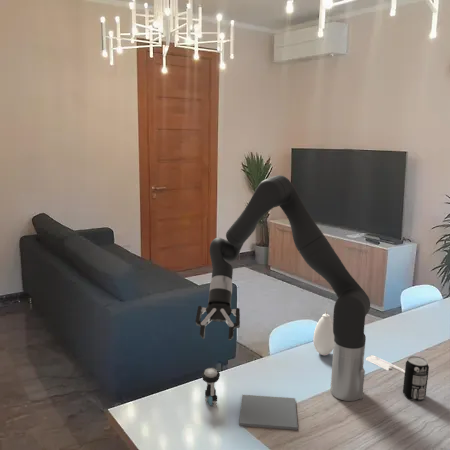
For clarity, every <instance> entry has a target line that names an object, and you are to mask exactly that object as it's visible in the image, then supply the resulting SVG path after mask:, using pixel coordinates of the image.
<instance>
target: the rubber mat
mask: <svg viewBox="0 0 450 450" xmlns="http://www.w3.org/2000/svg"><path fill="white" fill-rule="evenodd" d="M296 405H297V404H296V398H295V397H283V396H281V397H280V396H266V395H253V394H252V395H250V394H242V395H241V402H240V410H239V411H240V413H239V414H240V415H239V422H238V423H239V424H238V426H241V427H254V428H267V429H280V430H291V431H292V430H295V431H298V429H299V426H298V416H297V406H296Z"/></svg>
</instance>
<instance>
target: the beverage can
mask: <svg viewBox="0 0 450 450" xmlns="http://www.w3.org/2000/svg"><path fill="white" fill-rule="evenodd" d="M404 368H405V369H404V370H405V374H404V378H403V386H402V393H403V395H404V397H406V399H409V400H410V401H414V402H415V401H416V402H420V401H423V400H425V398H426V396H427V389H428V388H427V387H428V379H429V370H430V366H429V362H428V360H427V359H425V358H424V357H421V356H416V355H412V356H409V357H407V360H406V362H405V367H404Z"/></svg>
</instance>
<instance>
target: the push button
mask: <svg viewBox="0 0 450 450" xmlns="http://www.w3.org/2000/svg"><path fill="white" fill-rule="evenodd" d="M220 375H221V374H220V372H219V371H218V369H216V368H215V367H208V368H206V369H204V371H202V373H201V377H202V381H203V382H205V383H206V384H207V385H206V389H205V390H204V391H205V392H204V393H205V394H204V397H205V398H204V399H205V402H206V404H207V403H208V404H209V406H210V407H211V406H212V407H214V408H217V404H218V403H217V402H218V395H216V394H217V389H216V388H215V383H217V382H218V381H219V380H220Z"/></svg>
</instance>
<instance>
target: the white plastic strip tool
mask: <svg viewBox="0 0 450 450" xmlns="http://www.w3.org/2000/svg"><path fill="white" fill-rule="evenodd" d="M364 361H367V362H369V363H372V364H374V365H376V366H378V367H379V368H381V369H384V370H386V371H389V370H392V369H394V370H397V371H398V372H401V373H403V374H404V375H405V369H403V368H401V367H399V366H398V365H395V364H392V363H391V362H389V361H387V360H384V359H382V358H380V357H378V356H375V355H373V354H371V355H369V356H367V357H366V358H364Z"/></svg>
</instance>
